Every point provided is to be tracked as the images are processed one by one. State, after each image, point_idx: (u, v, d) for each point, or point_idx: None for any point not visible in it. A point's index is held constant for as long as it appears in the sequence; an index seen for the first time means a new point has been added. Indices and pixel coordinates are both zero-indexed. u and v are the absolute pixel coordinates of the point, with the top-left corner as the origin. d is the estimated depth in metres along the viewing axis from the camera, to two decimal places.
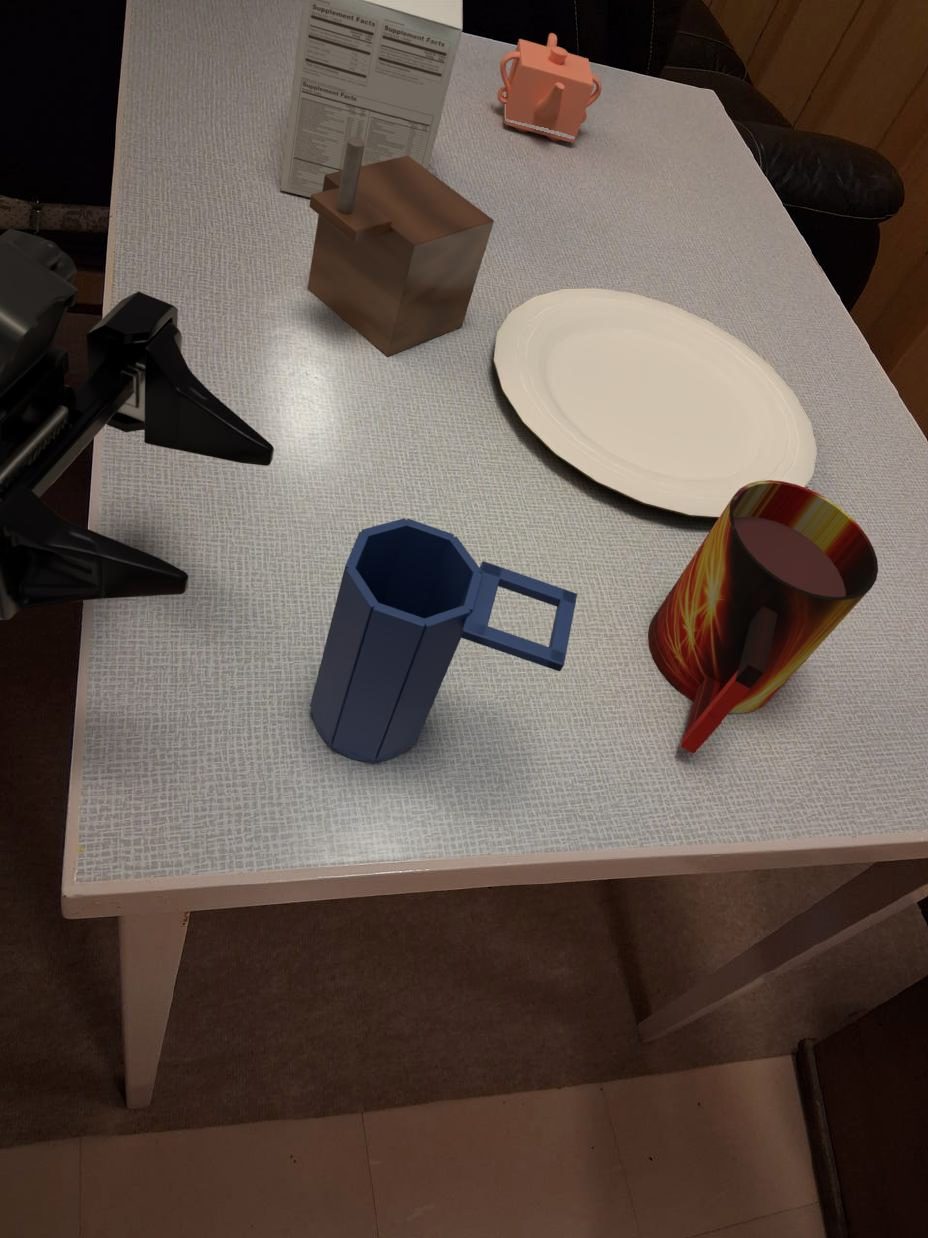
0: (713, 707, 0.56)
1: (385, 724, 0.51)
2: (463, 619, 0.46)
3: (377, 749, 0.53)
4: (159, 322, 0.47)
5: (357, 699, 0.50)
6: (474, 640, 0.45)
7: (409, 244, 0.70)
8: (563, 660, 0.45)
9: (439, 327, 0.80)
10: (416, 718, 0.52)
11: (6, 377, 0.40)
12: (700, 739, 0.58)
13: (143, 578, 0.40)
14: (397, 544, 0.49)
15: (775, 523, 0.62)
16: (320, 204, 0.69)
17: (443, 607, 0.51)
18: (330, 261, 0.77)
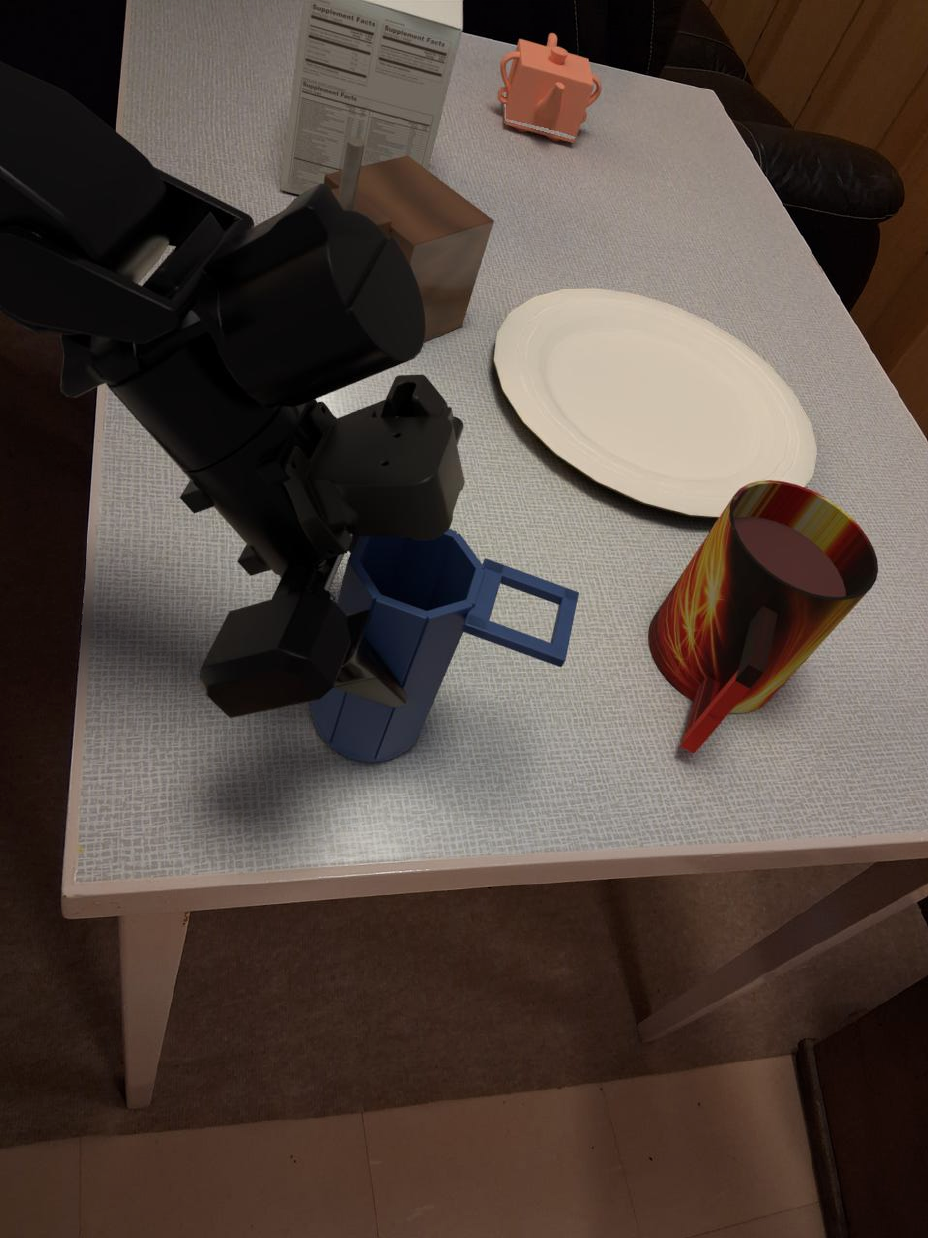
0: (713, 707, 0.56)
1: (385, 722, 0.50)
2: (465, 613, 0.46)
3: (376, 748, 0.52)
4: None
5: None
6: (476, 634, 0.45)
7: (409, 244, 0.70)
8: (565, 656, 0.45)
9: (439, 327, 0.80)
10: (416, 717, 0.52)
11: None
12: (700, 739, 0.58)
13: (381, 693, 0.47)
14: (400, 540, 0.49)
15: (775, 523, 0.62)
16: None
17: (444, 605, 0.51)
18: None
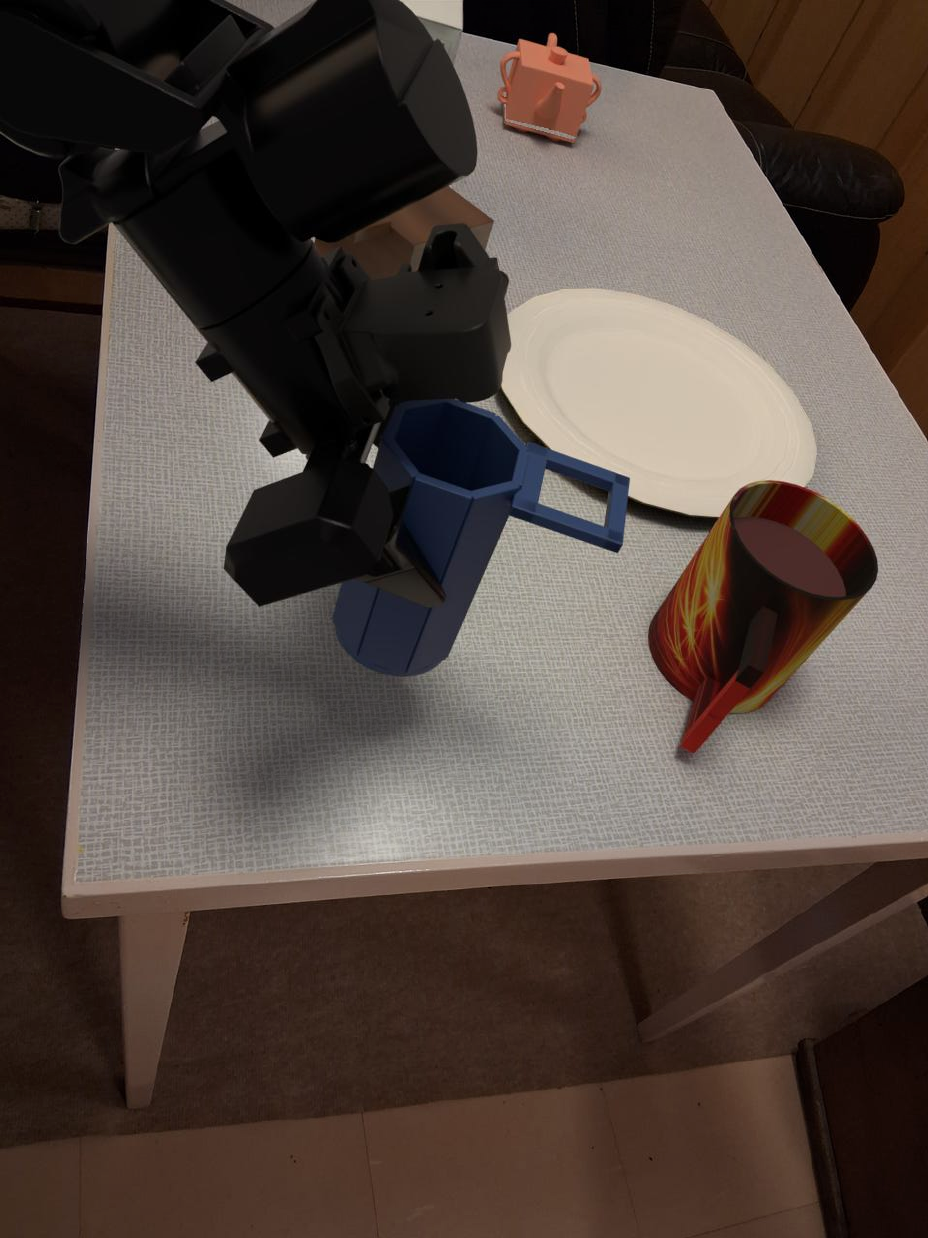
0: (713, 707, 0.56)
1: (419, 627, 0.46)
2: (511, 496, 0.42)
3: (408, 660, 0.48)
4: None
5: (389, 597, 0.45)
6: (524, 518, 0.41)
7: (409, 244, 0.70)
8: (622, 540, 0.41)
9: None
10: (451, 624, 0.48)
11: None
12: (700, 739, 0.58)
13: (418, 589, 0.43)
14: (433, 425, 0.45)
15: (775, 523, 0.62)
16: None
17: None
18: None
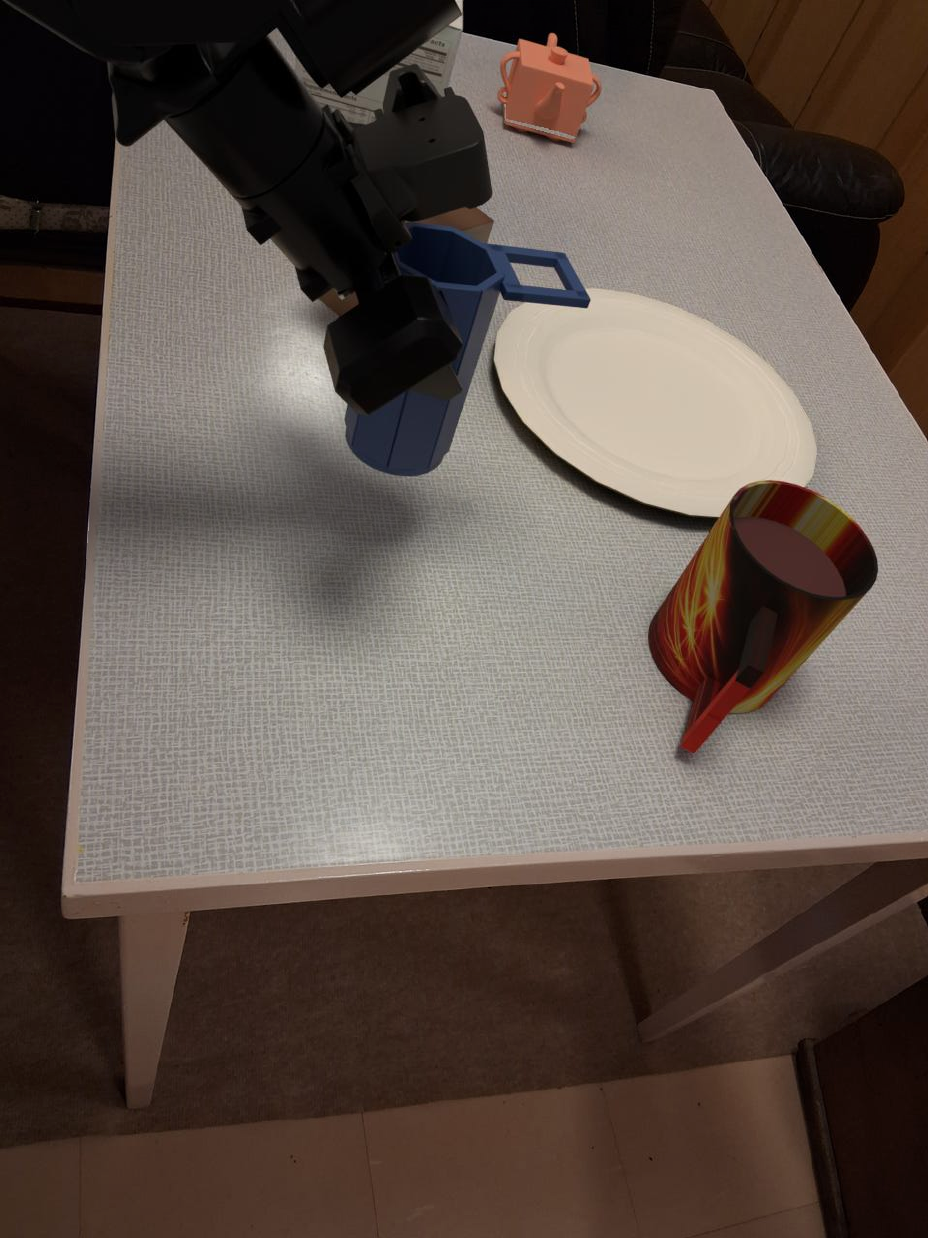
0: (713, 707, 0.56)
1: (439, 421, 0.56)
2: (500, 284, 0.52)
3: (430, 455, 0.58)
4: None
5: (415, 401, 0.54)
6: (516, 298, 0.52)
7: None
8: (588, 296, 0.53)
9: None
10: (456, 414, 0.58)
11: None
12: (700, 739, 0.58)
13: (445, 383, 0.53)
14: (406, 249, 0.53)
15: (775, 523, 0.62)
16: None
17: None
18: None
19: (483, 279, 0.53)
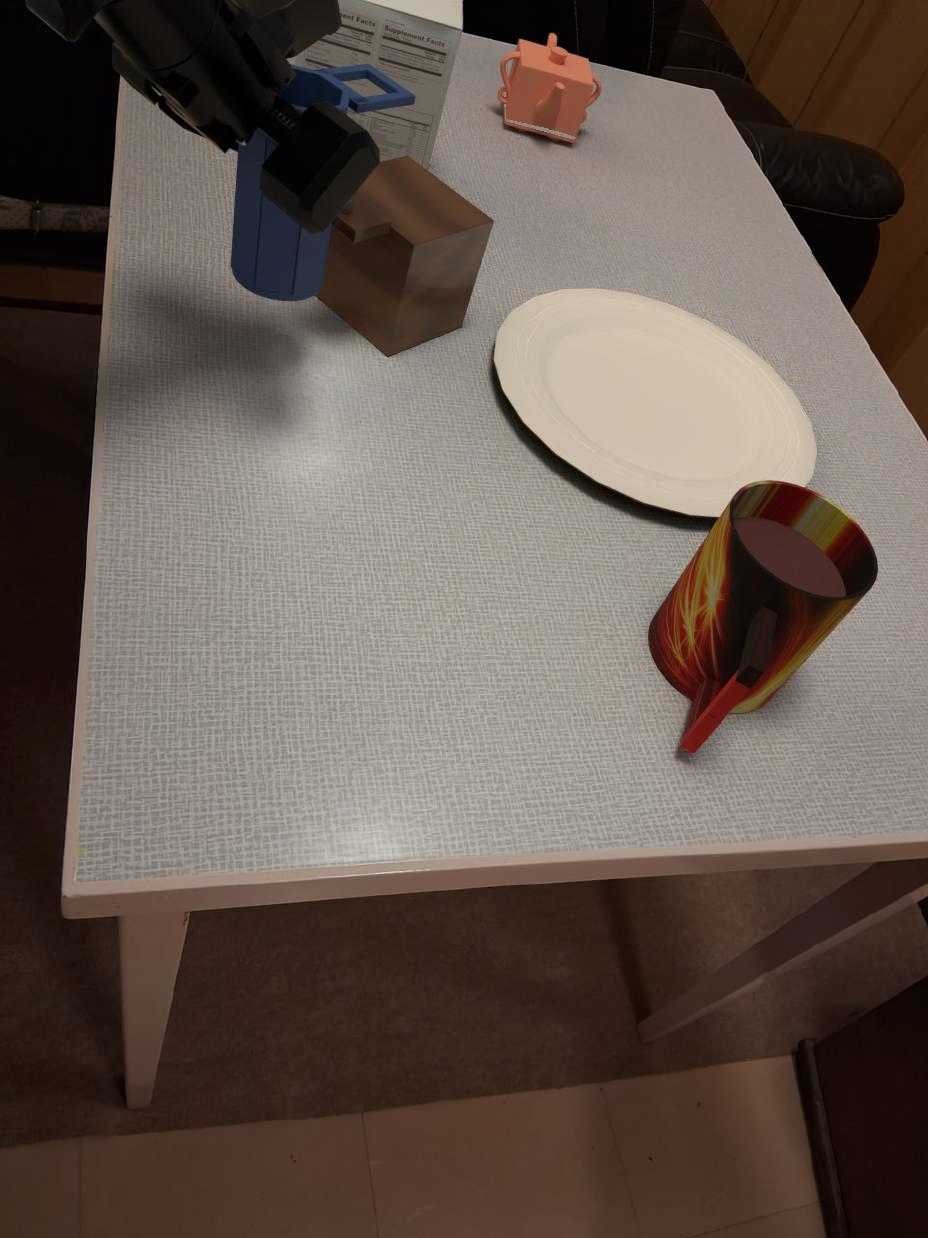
0: (713, 707, 0.56)
1: (326, 239, 0.65)
2: (349, 100, 0.61)
3: (321, 273, 0.67)
4: None
5: None
6: (366, 109, 0.61)
7: (409, 244, 0.70)
8: None
9: (439, 327, 0.80)
10: None
11: None
12: (700, 739, 0.58)
13: None
14: None
15: (775, 523, 0.62)
16: None
17: None
18: (330, 261, 0.77)
19: (325, 101, 0.62)
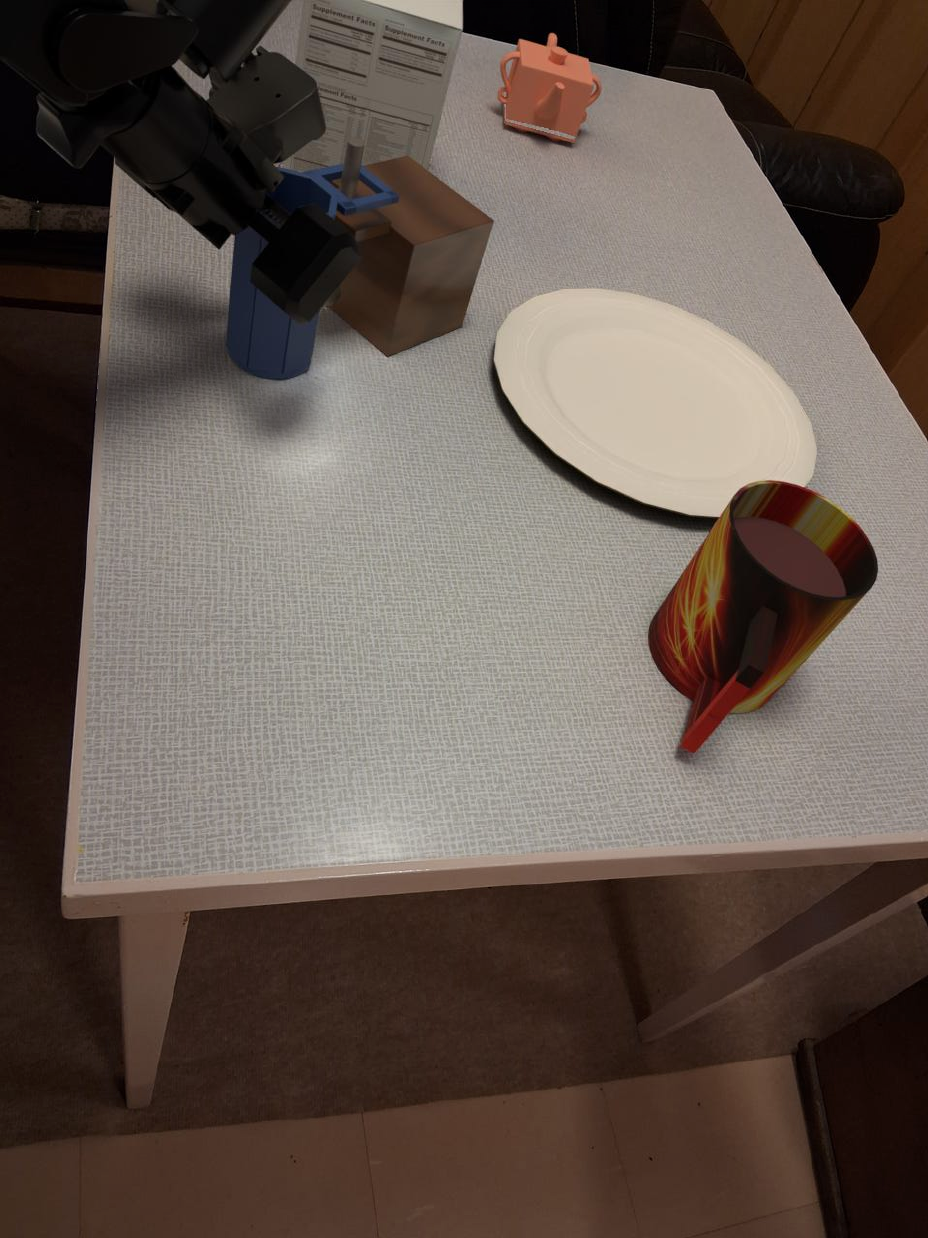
0: (713, 707, 0.56)
1: (315, 324, 0.70)
2: (337, 204, 0.66)
3: (310, 353, 0.72)
4: None
5: None
6: (352, 212, 0.66)
7: (409, 244, 0.70)
8: (396, 193, 0.68)
9: (439, 327, 0.80)
10: None
11: None
12: (700, 739, 0.58)
13: None
14: None
15: (775, 523, 0.62)
16: None
17: None
18: None
19: (315, 202, 0.67)
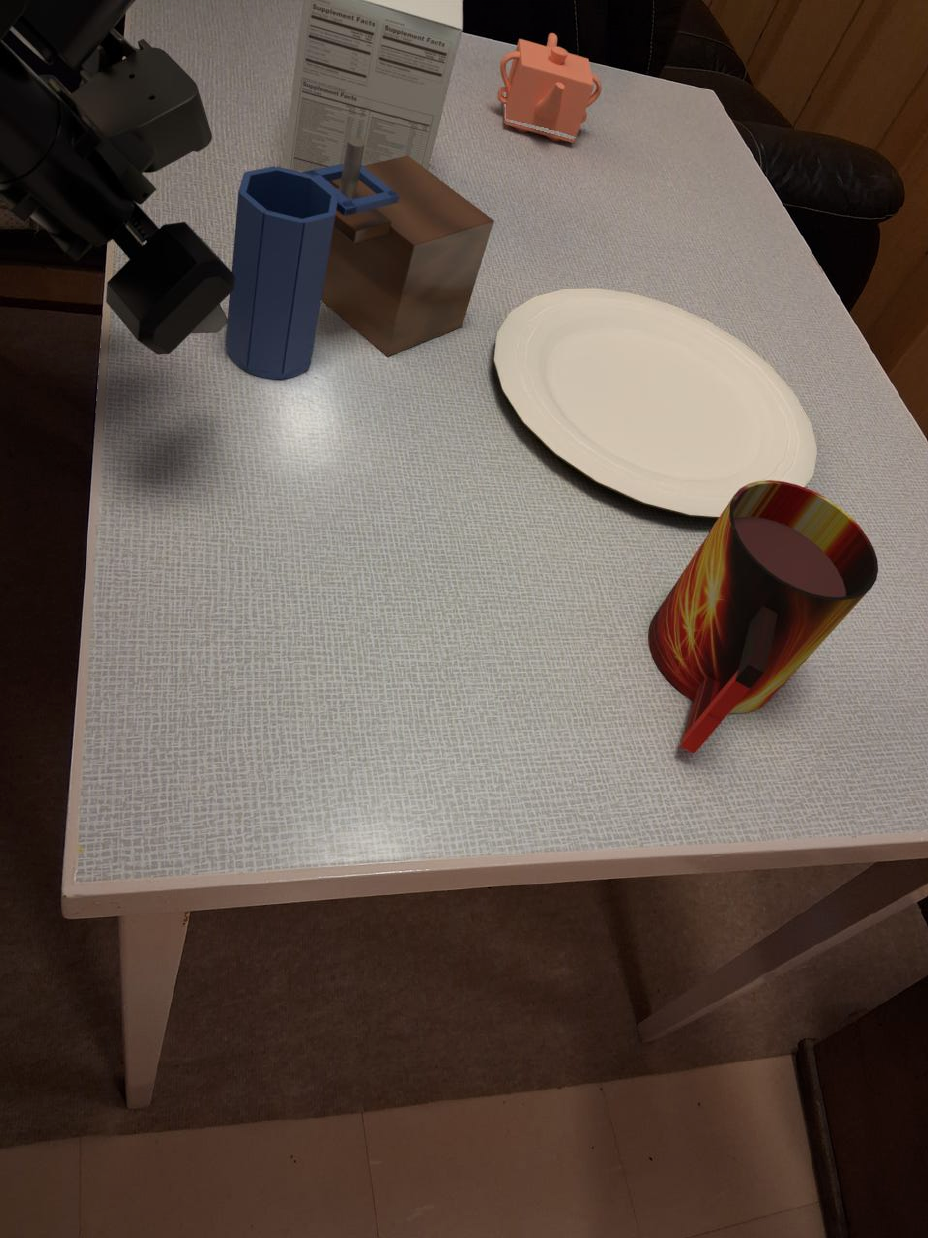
0: (713, 707, 0.56)
1: (315, 324, 0.70)
2: (337, 204, 0.66)
3: (310, 353, 0.72)
4: None
5: (298, 315, 0.68)
6: (352, 212, 0.66)
7: (409, 244, 0.70)
8: (396, 193, 0.68)
9: (439, 327, 0.80)
10: None
11: None
12: (700, 739, 0.58)
13: (215, 319, 0.60)
14: None
15: (775, 523, 0.62)
16: None
17: None
18: (330, 261, 0.77)
19: (315, 202, 0.67)
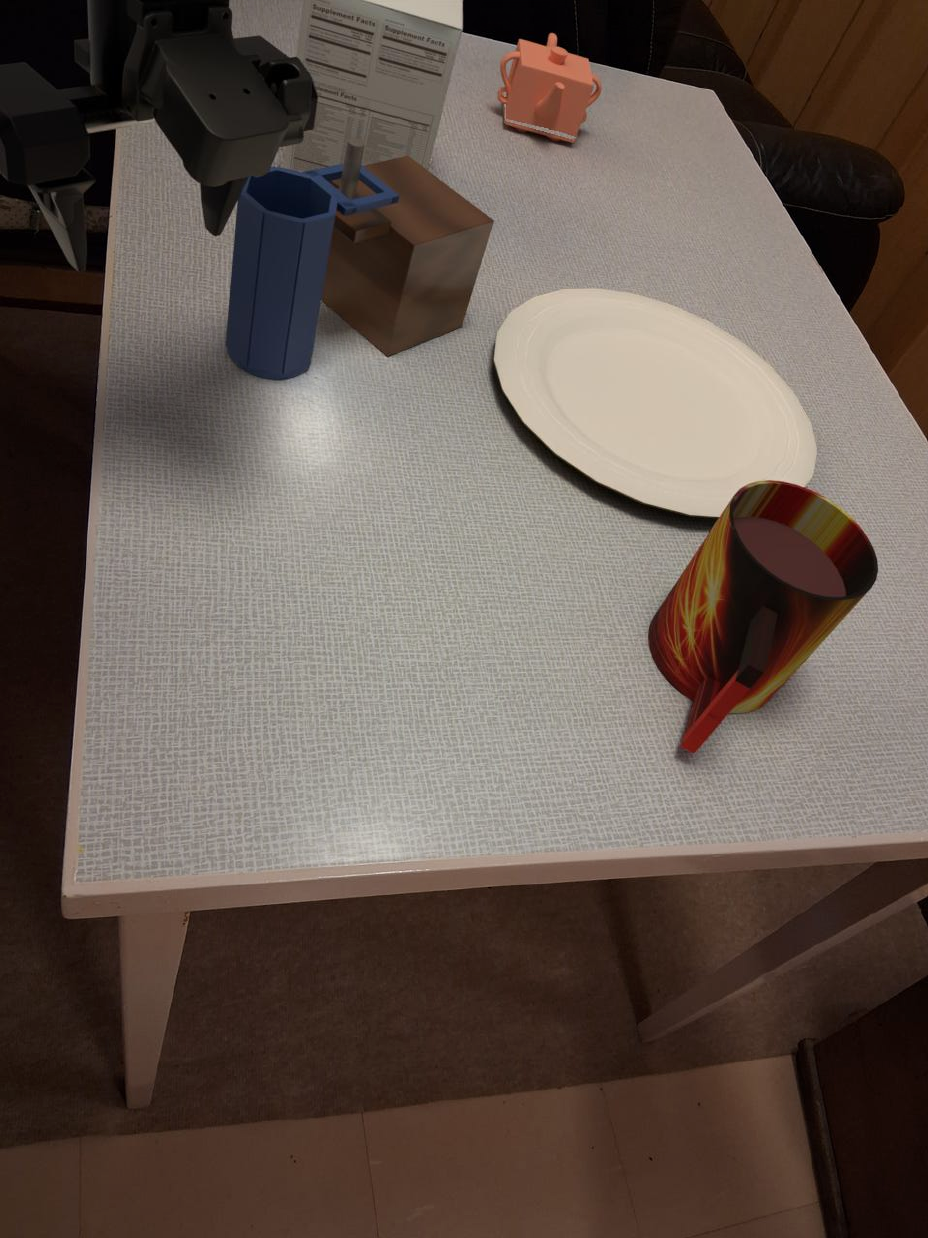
0: (713, 707, 0.56)
1: (315, 324, 0.70)
2: (337, 204, 0.66)
3: (310, 353, 0.72)
4: None
5: (298, 315, 0.68)
6: (352, 212, 0.66)
7: (409, 244, 0.70)
8: (396, 193, 0.68)
9: (439, 327, 0.80)
10: None
11: None
12: (700, 739, 0.58)
13: (66, 244, 0.52)
14: None
15: (775, 523, 0.62)
16: None
17: None
18: (330, 261, 0.77)
19: (315, 202, 0.67)
